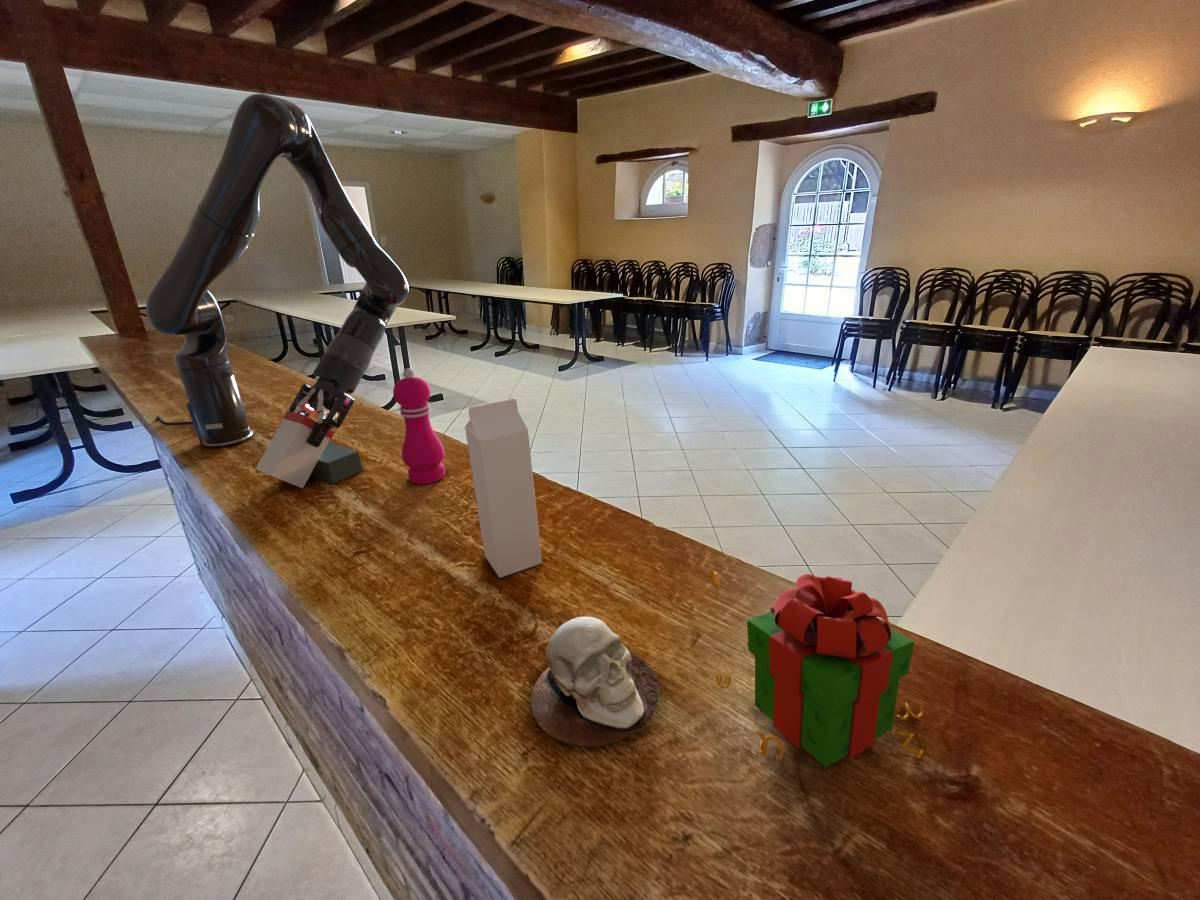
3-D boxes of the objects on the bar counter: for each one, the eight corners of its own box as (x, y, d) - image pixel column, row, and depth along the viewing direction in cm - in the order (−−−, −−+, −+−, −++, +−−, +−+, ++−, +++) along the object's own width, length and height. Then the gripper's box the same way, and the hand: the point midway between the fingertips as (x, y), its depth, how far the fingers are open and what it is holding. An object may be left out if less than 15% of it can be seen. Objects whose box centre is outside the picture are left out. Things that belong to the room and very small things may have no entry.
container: (279, 498, 94) (258, 430, 90) (261, 490, 98) (240, 424, 93) (345, 471, 104) (329, 408, 99) (327, 464, 107) (310, 403, 102)
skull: (695, 690, 50) (635, 662, 44) (629, 787, 49) (558, 774, 43) (617, 617, 60) (558, 585, 53) (560, 699, 59) (493, 676, 52)
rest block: (333, 483, 99) (327, 463, 97) (298, 469, 105) (292, 450, 104) (362, 471, 103) (358, 451, 102) (327, 458, 110) (322, 440, 108)
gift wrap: (802, 644, 59) (809, 520, 56) (987, 768, 43) (1015, 604, 39) (644, 712, 51) (639, 571, 47) (801, 898, 35) (813, 706, 31)
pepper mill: (453, 468, 102) (436, 362, 95) (439, 485, 96) (419, 373, 88) (416, 468, 103) (396, 363, 96) (400, 485, 97) (376, 374, 89)
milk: (542, 563, 73) (527, 404, 64) (498, 579, 70) (476, 415, 61) (524, 542, 77) (508, 392, 69) (483, 556, 75) (460, 401, 66)
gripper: (307, 348, 104) (261, 425, 100) (350, 355, 96) (303, 439, 92) (339, 369, 110) (297, 443, 106) (383, 377, 102) (339, 457, 98)
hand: (300, 441), depth 99 cm, fingers open, 7 cm apart
